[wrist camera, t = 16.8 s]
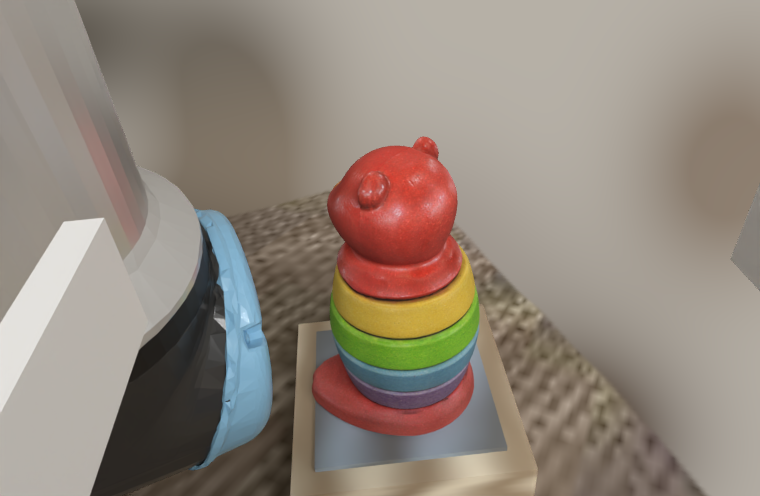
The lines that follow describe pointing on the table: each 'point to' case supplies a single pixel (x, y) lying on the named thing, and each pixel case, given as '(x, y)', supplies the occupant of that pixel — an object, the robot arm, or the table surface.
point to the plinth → (411, 438)
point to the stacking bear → (399, 297)
